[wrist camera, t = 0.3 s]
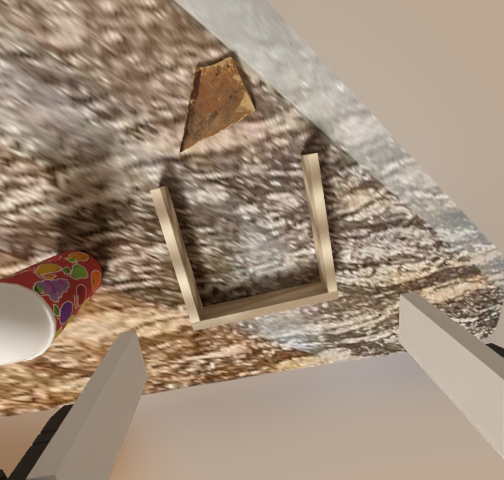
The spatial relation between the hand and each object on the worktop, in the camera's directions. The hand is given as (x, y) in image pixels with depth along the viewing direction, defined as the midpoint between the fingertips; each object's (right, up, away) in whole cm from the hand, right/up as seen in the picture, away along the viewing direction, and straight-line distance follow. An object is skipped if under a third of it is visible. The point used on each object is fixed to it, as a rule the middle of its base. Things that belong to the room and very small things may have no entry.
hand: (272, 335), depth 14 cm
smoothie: (-25, 0, +27) cm, 36 cm away
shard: (-5, +21, +23) cm, 31 cm away
